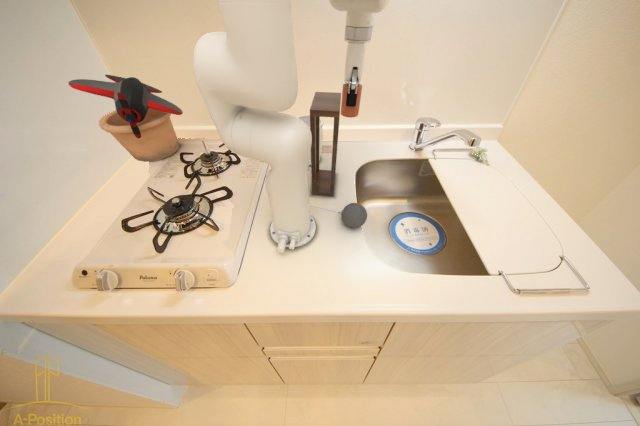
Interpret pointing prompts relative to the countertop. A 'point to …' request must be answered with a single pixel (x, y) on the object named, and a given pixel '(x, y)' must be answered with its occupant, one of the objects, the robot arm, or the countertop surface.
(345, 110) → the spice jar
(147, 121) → the pottery
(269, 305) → the countertop surface
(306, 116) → the jar
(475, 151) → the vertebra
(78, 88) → the toy airplane
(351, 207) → the lollipop
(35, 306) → the countertop surface
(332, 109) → the shelf stand
